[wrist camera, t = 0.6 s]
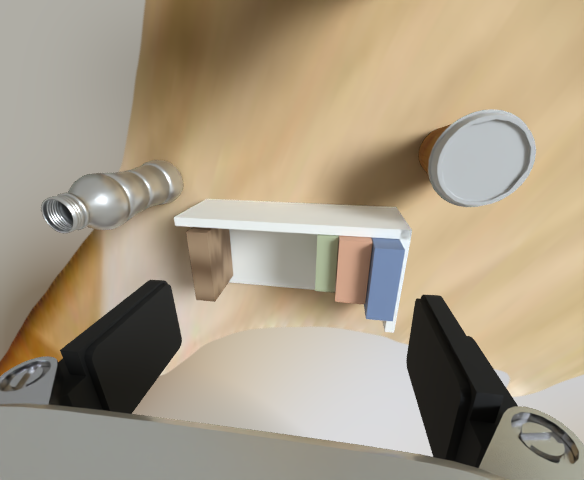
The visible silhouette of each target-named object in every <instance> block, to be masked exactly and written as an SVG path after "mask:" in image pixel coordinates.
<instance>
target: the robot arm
mask: <svg viewBox="0 0 584 480" xmlns="http://www.w3.org/2000/svg"><path fill="white" fill-rule="evenodd" d="M181 342H182V338H181V333H180V328H179V323H178V318H177V313H176V309H175V304H174V299H173V294H172V289H171V286H170V285H169V284H167V282H166V281H162V280H149V281H148V282H146V283H145V284H144V285H143V286H141V287H140V288H139V289H137V290H136V291H135V292H134V293H132V294H131V295H130V296H129V297H127V298H126V299H125V300H123V301H122V302H121V303H120V304H118V305H117V306H116V307H115V308H113V309H112V310H111V311H109V312H108V313H107V314H106V315H104V316H103V317H102V318H101V319H99V320H98V321H97V322H95V323H94V324H93V325H92V326H90V327H89V328H88V329H87V330H85V331H84V332H83V333H81V334H80V335H79V336H78V337H76V338H75V339H74V340H73V341H71V342H70V343H69V344H67V345H66V346H65V347H64V348H62V349H61V350H60V351H61V354H62V356H63V359H62V360H61V361H59V362H58V361H57V360H56V359H55V358H53V357H39V358H35V359H31V360H29V361H26V362H23V363H21V364H19V365H17V366H15V367H13V368H12V369H10V370H9V371H7V372H6V373H4V374H3V375H2V376H1V377H0V480H584V445H583V443H582V442H581V441H580V440H579V439H578V437H577V436H576V435H575V434H574V433H573V432H572V431H571V430H570V429H569V428H567V427H566V426H565V425H564V424H562V423H561V422H559V421H558V420H556V419H555V418H553V417H551V416H550V415H548V414H545V413H543V412H541V411H539V410H536V409H532V408H528V407H518V406H517V404H516V402H515V401H514V400H513V398H512V396H511V395H510V393H509V392H508V390H507V389H506V387H505V386H504V384H503V383H502V381H501V380H500V378H499V377H498V375H497V374H496V372H495V371H494V369H493V368H492V366H491V365H490V363H489V361H488V360H487V358H486V357H485V355H484V354H483V352H482V351H481V349H480V348H479V346H478V345H477V343H476V342H475V340H474V339H473V338H472V337H470V336H466V334H465V333H464V331H463V330H462V328H461V326H460V325H459V323H458V322H457V320H456V319H455V317H454V315H453V314H452V312H451V311H450V309H449V308H448V306H447V304H446V303H445V301H444V300H443V298H442V297H441V296H437V295H422V297H421V299H416V301H415V307H414V313H413V320H412V327H411V333H410V340H409V346H408V354H407V369H408V373H409V376H410V379H411V383H412V386H413V390H414V393H415V396H416V399H417V403H418V407H419V410H420V413H421V417H422V420H423V423H424V426H425V430H426V433H427V437H428V440H429V444H430V447H431V450H432V454H433V457H430V456H425V455H421V454H414V453H408V452H402V451H395V450H389V449H382V448H376V447H370V446H364V445H357V444H350V443H343V442H336V441H329V440H322V439H314V438H307V437H300V436H293V435H286V434H278V433H272V432H264V431H257V430H249V429H242V428H234V427H227V426H220V425H213V424H205V423H197V422H190V421H182V420H175V419H167V418H159V417H152V416H144V415H136V414H132V412H133V411H134V410H135V408H136V407H137V406H138V404H139V403H140V401H141V400H142V398H143V397H144V396H145V395H146V393H147V392H148V390H149V389H150V388H151V386H152V385H153V384H154V382H155V381H156V379H157V378H158V377H159V375H160V374H161V373H162V371H163V370H164V369H165V367H166V366H167V365H168V363H169V362H170V360H171V359H172V358H173V356H174V355H175V354H176V352H177V351H178V350H179V348H180V346H181Z"/></svg>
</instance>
